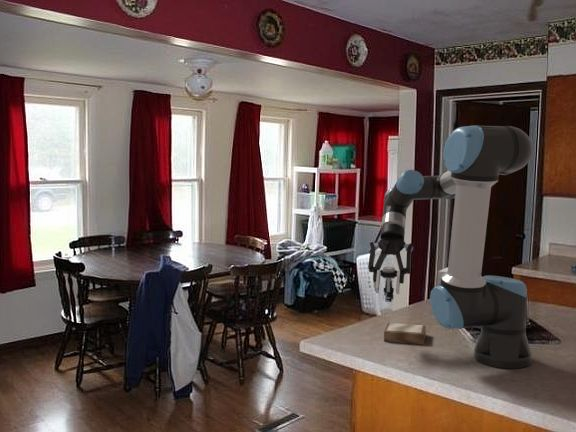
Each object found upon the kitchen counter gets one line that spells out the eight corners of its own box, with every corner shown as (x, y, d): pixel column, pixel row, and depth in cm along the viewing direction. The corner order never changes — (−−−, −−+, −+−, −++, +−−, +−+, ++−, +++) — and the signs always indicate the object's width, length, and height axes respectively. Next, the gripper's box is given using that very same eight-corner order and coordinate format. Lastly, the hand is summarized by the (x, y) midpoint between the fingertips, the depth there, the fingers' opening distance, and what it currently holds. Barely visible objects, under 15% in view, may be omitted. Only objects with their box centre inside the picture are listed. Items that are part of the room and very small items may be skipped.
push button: (396, 303, 171) (397, 270, 170) (378, 303, 172) (379, 270, 171) (397, 298, 177) (398, 266, 176) (380, 297, 178) (380, 265, 177)
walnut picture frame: (425, 334, 184) (425, 324, 184) (423, 344, 175) (423, 333, 175) (387, 331, 188) (387, 322, 188) (384, 341, 178) (384, 330, 178)
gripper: (422, 237, 185) (419, 299, 171) (365, 235, 190) (357, 296, 176) (421, 222, 179) (418, 285, 165) (363, 221, 184) (355, 282, 170)
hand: (387, 291), depth 171 cm, fingers closed on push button, 5 cm apart
